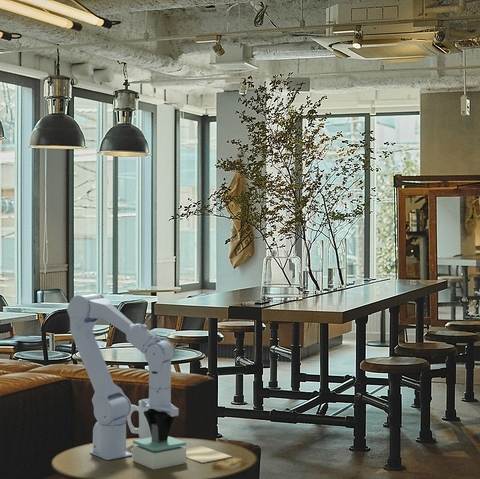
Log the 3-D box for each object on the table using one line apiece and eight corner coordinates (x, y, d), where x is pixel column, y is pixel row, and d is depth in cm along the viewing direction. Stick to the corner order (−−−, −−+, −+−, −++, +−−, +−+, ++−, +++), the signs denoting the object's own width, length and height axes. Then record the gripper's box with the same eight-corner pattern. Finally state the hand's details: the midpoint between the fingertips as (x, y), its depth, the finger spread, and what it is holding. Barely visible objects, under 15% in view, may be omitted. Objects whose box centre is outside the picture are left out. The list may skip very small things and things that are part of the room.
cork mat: (172, 452, 248) (172, 451, 248) (201, 446, 254) (201, 445, 254) (202, 463, 237) (202, 462, 237) (232, 457, 243) (232, 456, 243)
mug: (163, 440, 261) (163, 398, 261) (161, 446, 255) (161, 403, 254) (128, 440, 261) (128, 398, 261) (125, 446, 255) (125, 403, 254)
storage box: (133, 460, 239) (133, 445, 239) (164, 454, 245) (164, 440, 245) (153, 469, 231) (153, 453, 231) (186, 463, 238) (186, 447, 237)
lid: (133, 446, 239) (133, 423, 239) (164, 440, 245) (164, 418, 245) (153, 454, 231) (153, 430, 231) (186, 448, 237) (186, 425, 237)
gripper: (132, 384, 241) (131, 435, 241) (162, 393, 230) (162, 446, 230) (154, 381, 245) (154, 431, 246) (185, 390, 234) (185, 442, 234)
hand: (159, 438), depth 238 cm, fingers closed on lid, 3 cm apart
